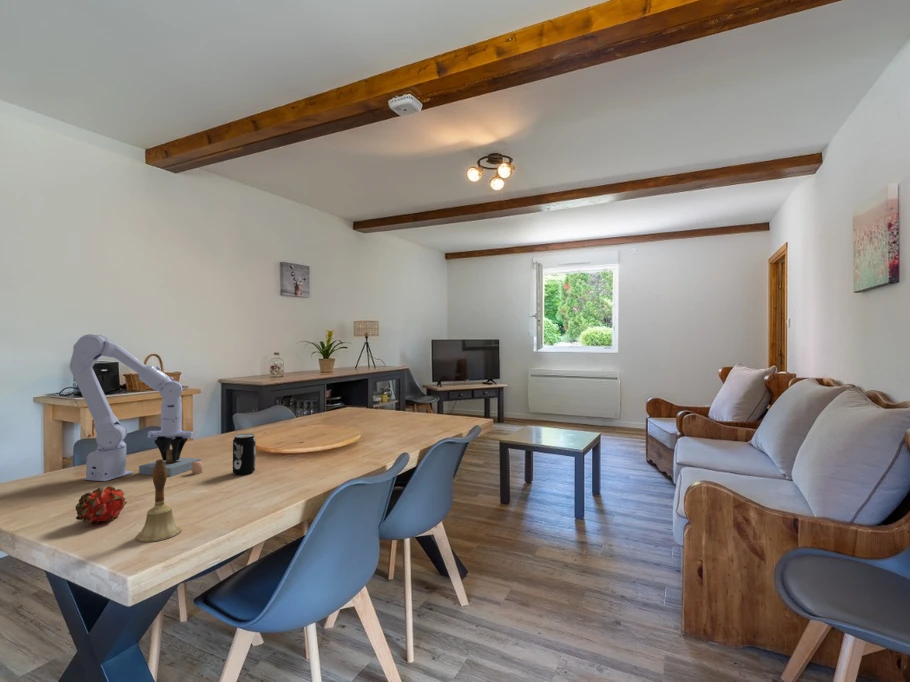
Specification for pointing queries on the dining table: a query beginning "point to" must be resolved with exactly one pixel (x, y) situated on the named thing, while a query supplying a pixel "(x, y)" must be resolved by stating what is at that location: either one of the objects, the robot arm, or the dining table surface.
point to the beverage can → (244, 454)
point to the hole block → (170, 467)
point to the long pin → (169, 457)
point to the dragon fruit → (100, 505)
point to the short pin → (197, 467)
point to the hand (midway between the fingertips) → (171, 460)
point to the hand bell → (159, 511)
